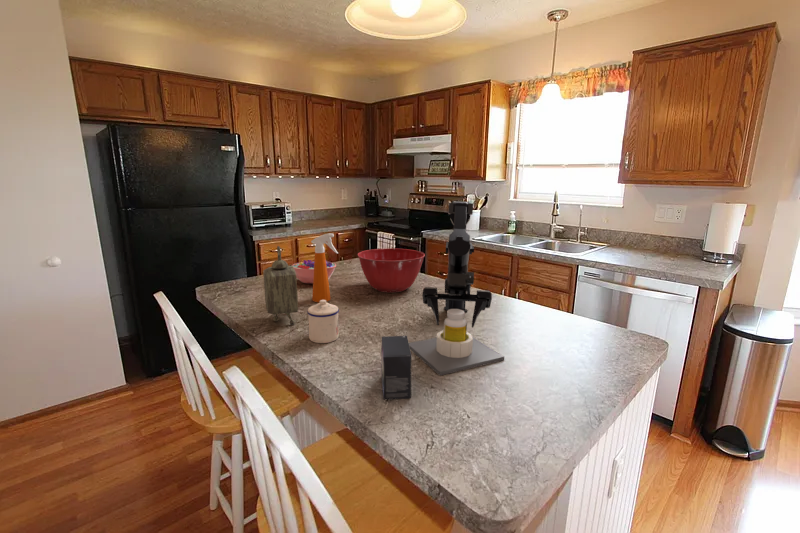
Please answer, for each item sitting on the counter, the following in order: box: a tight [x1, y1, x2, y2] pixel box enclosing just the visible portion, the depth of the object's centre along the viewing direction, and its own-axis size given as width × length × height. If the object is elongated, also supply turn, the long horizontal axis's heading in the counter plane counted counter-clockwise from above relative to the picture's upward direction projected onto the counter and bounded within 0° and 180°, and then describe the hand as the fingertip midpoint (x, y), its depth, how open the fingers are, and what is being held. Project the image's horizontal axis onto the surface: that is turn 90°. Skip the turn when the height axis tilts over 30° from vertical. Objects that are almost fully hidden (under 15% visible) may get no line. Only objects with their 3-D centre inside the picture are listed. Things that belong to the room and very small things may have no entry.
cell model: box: [291, 259, 337, 285], centre depth 172 cm, size 17×20×11 cm
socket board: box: [409, 329, 505, 377], centre depth 105 cm, size 20×18×5 cm
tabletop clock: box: [262, 245, 299, 326], centre depth 124 cm, size 14×9×25 cm, turn 23°
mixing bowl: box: [357, 248, 425, 294], centre depth 164 cm, size 28×28×15 cm
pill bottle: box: [442, 309, 468, 342], centre depth 104 cm, size 6×6×11 cm
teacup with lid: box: [307, 300, 340, 344], centre depth 114 cm, size 12×9×12 cm
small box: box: [380, 335, 413, 401], centre depth 87 cm, size 11×6×10 cm, turn 5°
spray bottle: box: [310, 232, 339, 304], centre depth 145 cm, size 7×11×26 cm, turn 80°
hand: (455, 325), depth 102 cm, fingers open, 9 cm apart
